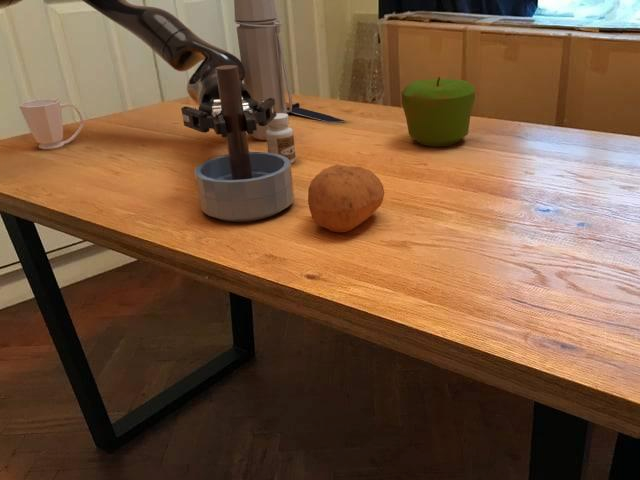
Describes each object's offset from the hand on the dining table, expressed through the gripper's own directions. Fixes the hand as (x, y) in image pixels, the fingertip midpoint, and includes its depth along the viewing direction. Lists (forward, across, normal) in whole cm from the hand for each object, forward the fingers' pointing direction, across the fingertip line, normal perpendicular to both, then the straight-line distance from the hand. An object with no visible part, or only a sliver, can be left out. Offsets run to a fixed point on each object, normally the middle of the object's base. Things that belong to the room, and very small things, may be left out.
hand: (237, 128), depth 86 cm
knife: (-50, +17, +12) cm, 54 cm away
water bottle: (-36, +9, +12) cm, 39 cm away
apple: (-20, +36, +12) cm, 43 cm away
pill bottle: (-20, +8, +12) cm, 24 cm away
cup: (-48, -30, +12) cm, 57 cm away
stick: (-3, 0, +9) cm, 9 cm away
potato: (+9, +12, +12) cm, 19 cm away
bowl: (-1, 0, +12) cm, 12 cm away
